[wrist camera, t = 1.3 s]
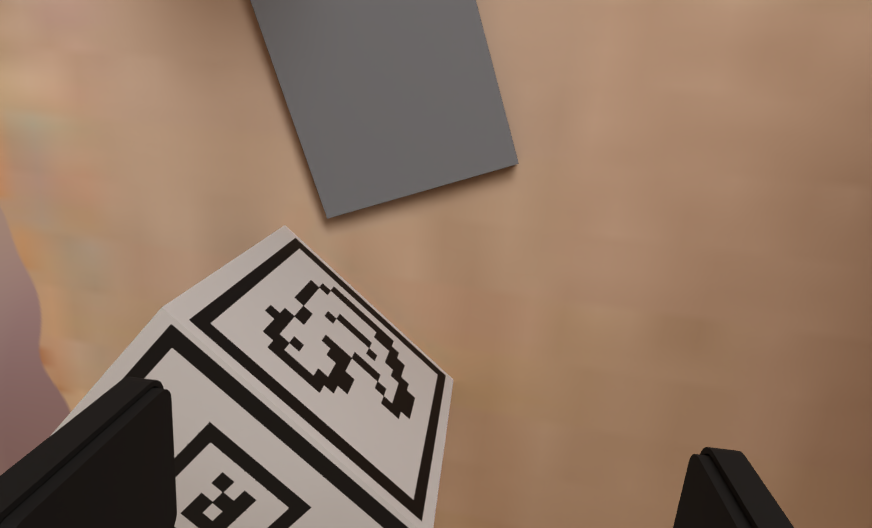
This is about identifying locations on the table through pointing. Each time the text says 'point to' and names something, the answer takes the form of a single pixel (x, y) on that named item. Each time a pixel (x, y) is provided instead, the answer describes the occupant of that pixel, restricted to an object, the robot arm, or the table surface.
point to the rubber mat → (387, 95)
